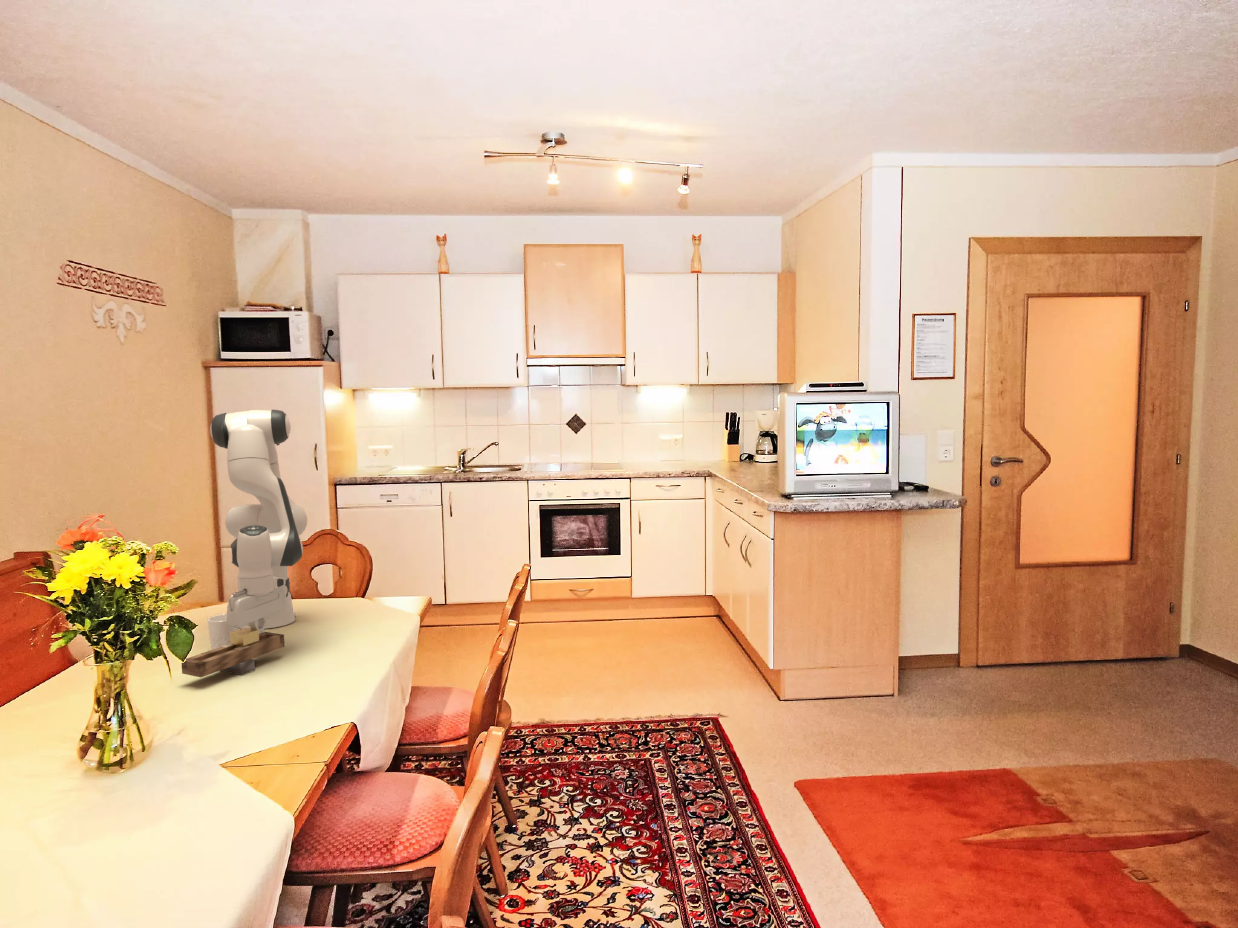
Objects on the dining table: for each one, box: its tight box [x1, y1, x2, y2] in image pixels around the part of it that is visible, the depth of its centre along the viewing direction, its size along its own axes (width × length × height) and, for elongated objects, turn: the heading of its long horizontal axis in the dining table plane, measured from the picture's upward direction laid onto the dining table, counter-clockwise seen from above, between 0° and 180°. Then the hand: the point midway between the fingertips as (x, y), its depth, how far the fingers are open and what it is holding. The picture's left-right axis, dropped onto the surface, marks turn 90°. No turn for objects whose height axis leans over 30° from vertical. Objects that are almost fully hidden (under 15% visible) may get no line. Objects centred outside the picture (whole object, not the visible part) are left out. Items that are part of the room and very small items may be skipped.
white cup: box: [207, 613, 240, 650], centre depth 221 cm, size 8×8×10 cm
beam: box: [181, 631, 286, 678], centre depth 205 cm, size 26×9×7 cm, turn 156°
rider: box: [230, 628, 259, 648], centre depth 208 cm, size 5×5×5 cm
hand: (258, 634), depth 212 cm, fingers closed
